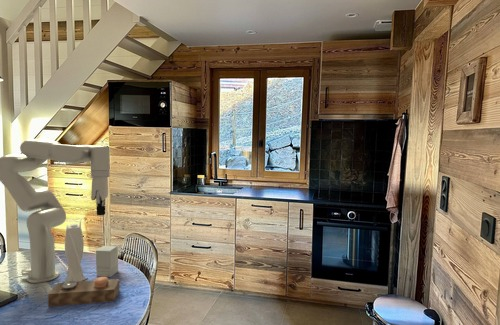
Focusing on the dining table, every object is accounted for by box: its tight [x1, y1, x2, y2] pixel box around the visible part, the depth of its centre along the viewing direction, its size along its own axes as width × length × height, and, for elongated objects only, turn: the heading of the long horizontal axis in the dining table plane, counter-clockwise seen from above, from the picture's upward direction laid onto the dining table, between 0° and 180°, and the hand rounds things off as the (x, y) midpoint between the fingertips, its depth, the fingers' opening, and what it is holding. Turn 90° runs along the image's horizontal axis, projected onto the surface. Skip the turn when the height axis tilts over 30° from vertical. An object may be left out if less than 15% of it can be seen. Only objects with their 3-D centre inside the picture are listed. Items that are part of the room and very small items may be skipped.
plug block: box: [47, 278, 120, 308], centre depth 133 cm, size 24×10×5 cm, turn 101°
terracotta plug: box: [93, 276, 109, 288], centre depth 134 cm, size 5×5×6 cm
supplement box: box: [95, 245, 119, 278], centre depth 156 cm, size 7×7×13 cm
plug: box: [62, 281, 77, 290], centre depth 131 cm, size 5×5×6 cm
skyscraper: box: [63, 221, 88, 282], centre depth 147 cm, size 8×8×28 cm
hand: (101, 214), depth 145 cm, fingers closed
